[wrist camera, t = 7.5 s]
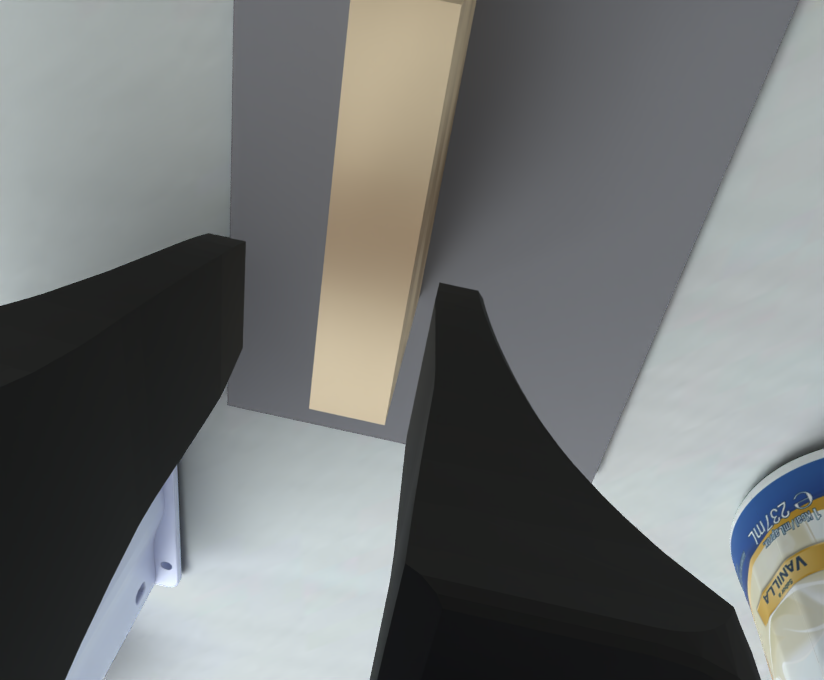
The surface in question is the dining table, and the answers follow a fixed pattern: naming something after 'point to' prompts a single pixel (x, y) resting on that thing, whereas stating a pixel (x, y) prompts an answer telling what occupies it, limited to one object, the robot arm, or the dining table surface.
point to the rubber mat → (504, 190)
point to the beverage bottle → (785, 565)
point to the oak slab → (384, 193)
